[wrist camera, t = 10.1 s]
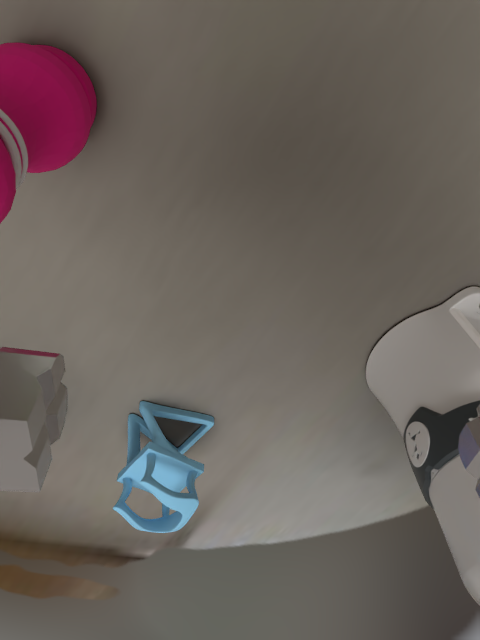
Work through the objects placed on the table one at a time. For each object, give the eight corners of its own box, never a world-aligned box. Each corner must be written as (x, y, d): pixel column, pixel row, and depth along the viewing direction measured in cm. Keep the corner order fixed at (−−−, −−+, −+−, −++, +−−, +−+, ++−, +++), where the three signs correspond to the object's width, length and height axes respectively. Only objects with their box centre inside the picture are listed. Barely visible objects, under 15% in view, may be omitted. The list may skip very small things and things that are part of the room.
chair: (152, 387, 49) (134, 486, 39) (215, 417, 52) (213, 516, 43) (118, 426, 53) (94, 526, 43) (179, 452, 56) (169, 551, 46)
